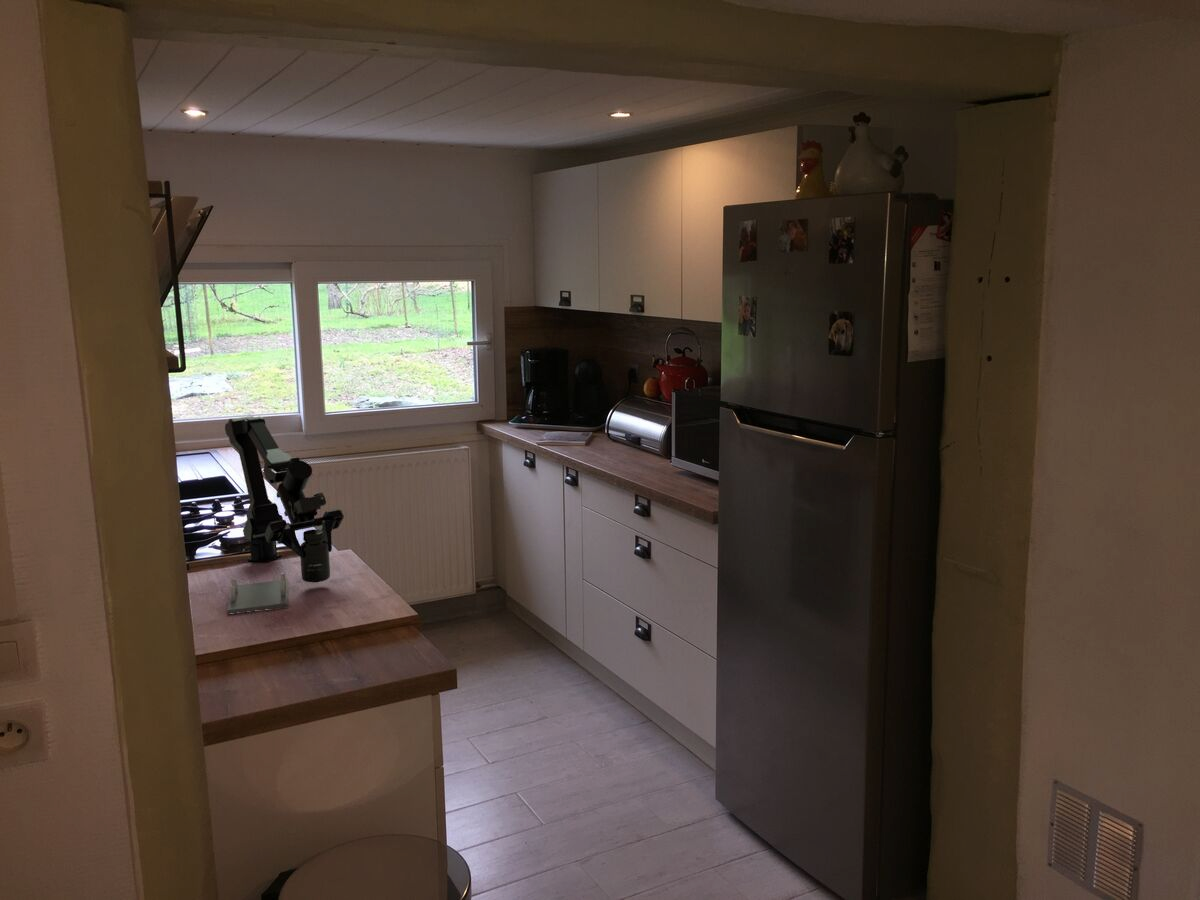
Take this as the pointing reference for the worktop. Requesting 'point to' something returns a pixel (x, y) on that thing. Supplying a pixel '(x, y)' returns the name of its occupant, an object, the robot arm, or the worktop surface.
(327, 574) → the supplement bottle
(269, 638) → the worktop surface
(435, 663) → the worktop surface
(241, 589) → the pin tray
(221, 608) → the worktop surface
